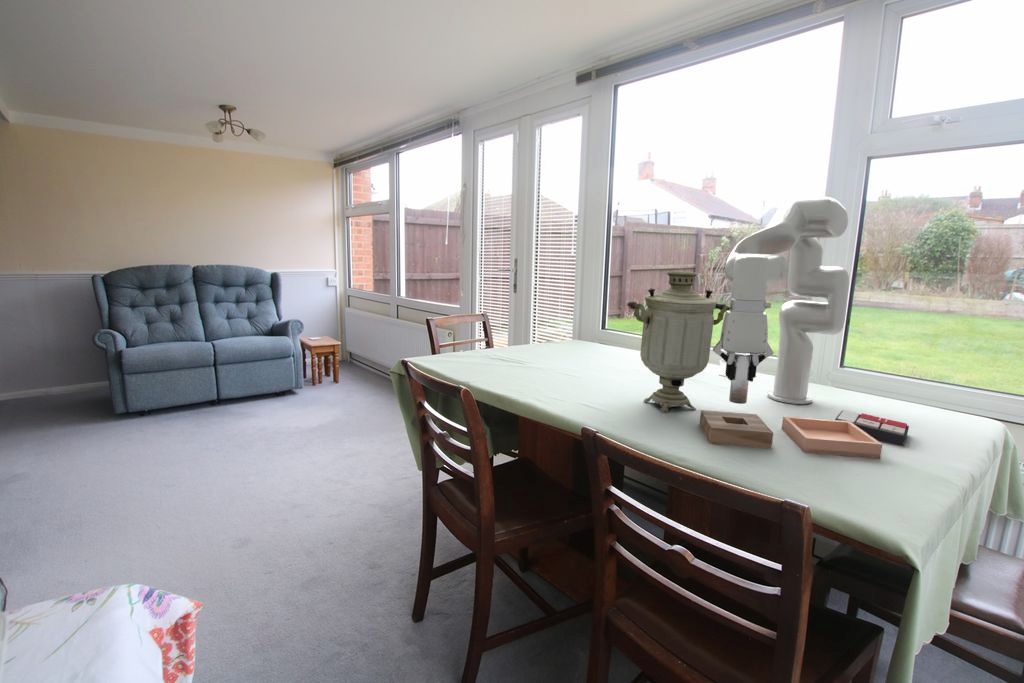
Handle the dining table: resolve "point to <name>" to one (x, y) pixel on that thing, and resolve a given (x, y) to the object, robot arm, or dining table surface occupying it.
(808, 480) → the dining table surface
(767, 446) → the wooden square hole block
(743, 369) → the pin
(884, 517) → the dining table surface
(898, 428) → the calculator
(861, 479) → the dining table surface
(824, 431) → the tray
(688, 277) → the samovar
